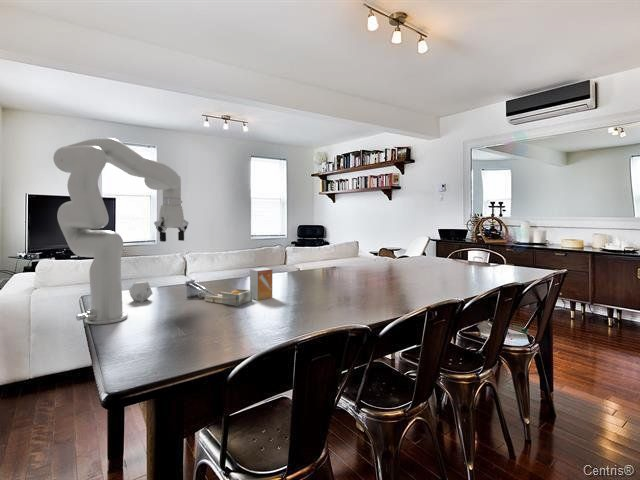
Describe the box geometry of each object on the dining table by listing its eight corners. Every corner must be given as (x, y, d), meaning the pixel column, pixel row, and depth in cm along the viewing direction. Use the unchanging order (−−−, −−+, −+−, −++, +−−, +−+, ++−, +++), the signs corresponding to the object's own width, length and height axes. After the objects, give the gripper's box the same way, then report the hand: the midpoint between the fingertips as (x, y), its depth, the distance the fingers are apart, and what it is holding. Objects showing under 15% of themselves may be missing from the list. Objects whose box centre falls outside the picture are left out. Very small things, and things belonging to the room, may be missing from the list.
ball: (238, 287, 153) (230, 292, 150) (244, 295, 153) (236, 300, 150) (234, 290, 157) (226, 295, 154) (240, 298, 156) (232, 304, 153)
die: (129, 305, 148) (144, 286, 148) (120, 292, 153) (134, 274, 153) (146, 308, 156) (160, 290, 156) (137, 296, 160) (150, 278, 160)
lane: (237, 305, 147) (237, 294, 146) (204, 300, 155) (204, 290, 154) (251, 300, 155) (251, 290, 155) (219, 296, 163) (219, 286, 163)
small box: (257, 300, 156) (257, 270, 155) (249, 298, 160) (249, 269, 159) (272, 297, 161) (272, 268, 160) (264, 295, 166) (264, 267, 165)
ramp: (211, 299, 156) (210, 284, 156) (185, 296, 163) (185, 281, 162) (218, 297, 160) (218, 282, 160) (193, 294, 167) (193, 279, 167)
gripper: (181, 203, 169) (182, 239, 169) (148, 201, 153) (149, 241, 154) (193, 203, 165) (193, 240, 166) (160, 201, 150) (161, 242, 151)
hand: (172, 240), depth 160 cm, fingers open, 9 cm apart
